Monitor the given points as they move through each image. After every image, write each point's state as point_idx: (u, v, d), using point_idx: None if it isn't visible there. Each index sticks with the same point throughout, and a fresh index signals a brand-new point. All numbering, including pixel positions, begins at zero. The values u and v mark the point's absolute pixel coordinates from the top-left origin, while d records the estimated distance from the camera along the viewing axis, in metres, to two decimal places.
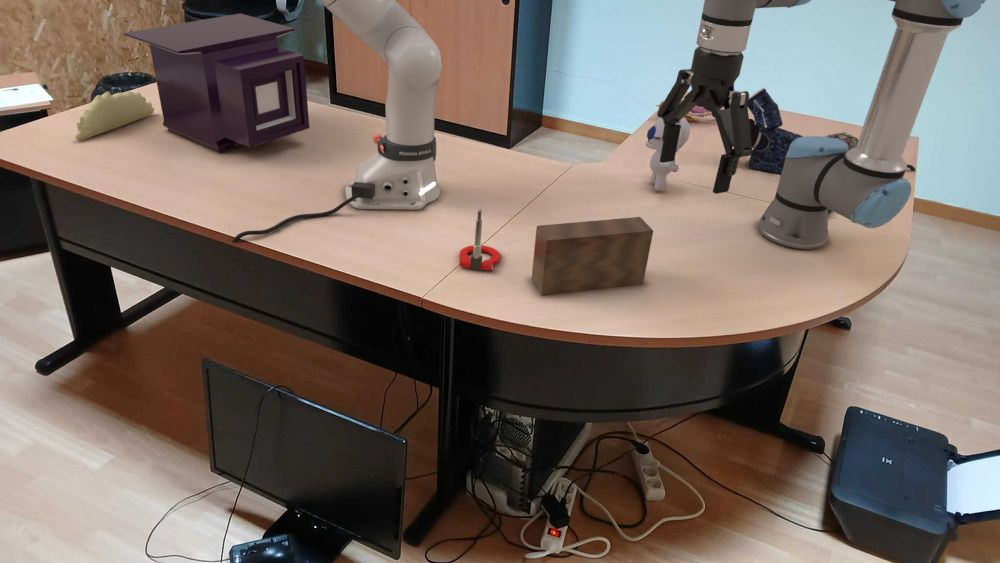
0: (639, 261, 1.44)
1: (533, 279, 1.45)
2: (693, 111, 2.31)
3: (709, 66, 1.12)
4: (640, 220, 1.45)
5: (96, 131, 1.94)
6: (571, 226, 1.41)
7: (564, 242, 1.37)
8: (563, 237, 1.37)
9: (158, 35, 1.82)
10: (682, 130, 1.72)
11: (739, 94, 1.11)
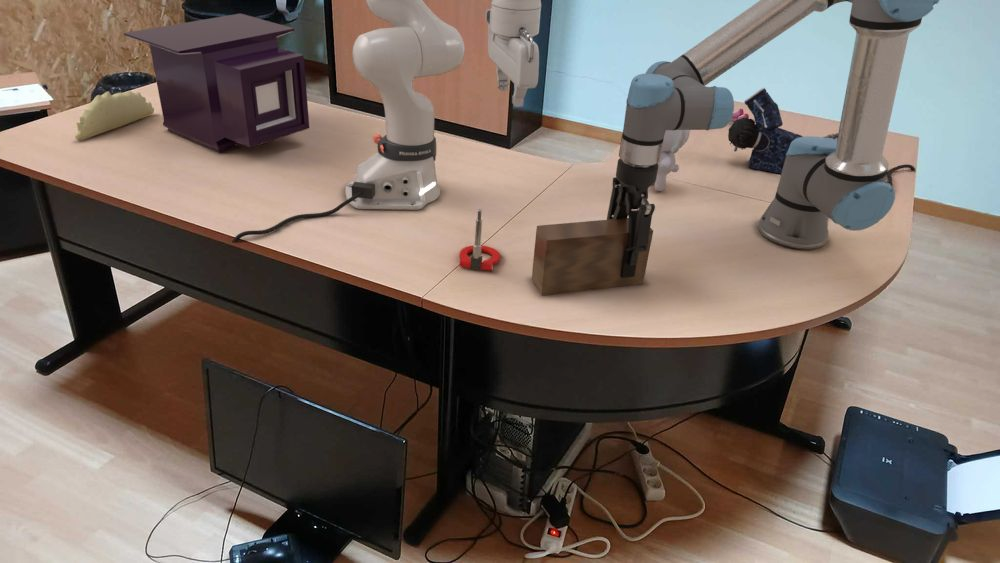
0: (639, 261, 1.44)
1: (533, 279, 1.45)
2: None
3: None
4: None
5: (96, 131, 1.94)
6: (571, 226, 1.41)
7: (564, 242, 1.37)
8: (563, 237, 1.37)
9: (158, 35, 1.82)
10: (682, 130, 1.72)
11: None
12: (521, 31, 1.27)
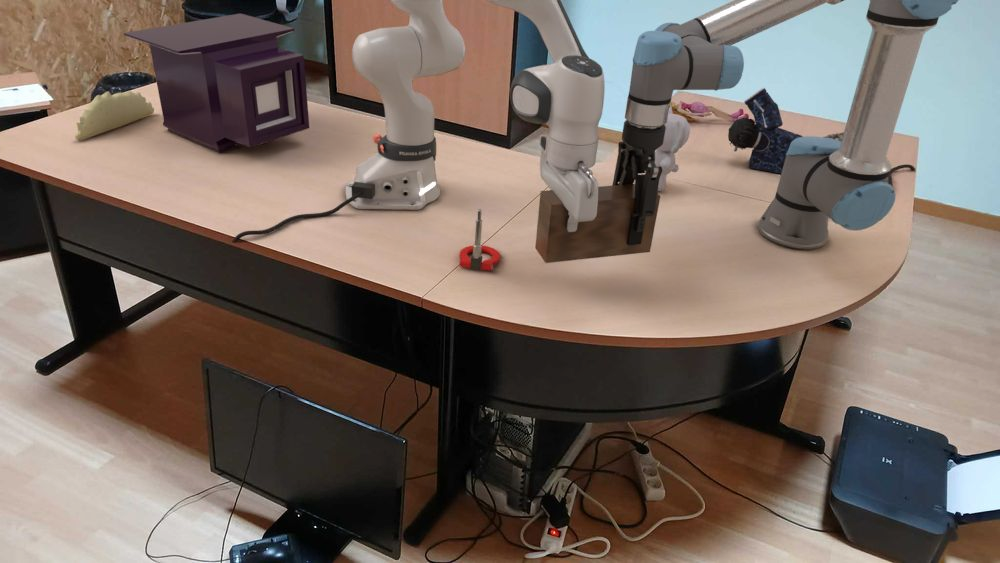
0: (645, 228, 1.41)
1: (537, 247, 1.42)
2: (693, 111, 2.31)
3: None
4: None
5: (96, 131, 1.94)
6: None
7: None
8: None
9: (158, 35, 1.82)
10: (682, 130, 1.72)
11: None
12: (580, 165, 1.26)
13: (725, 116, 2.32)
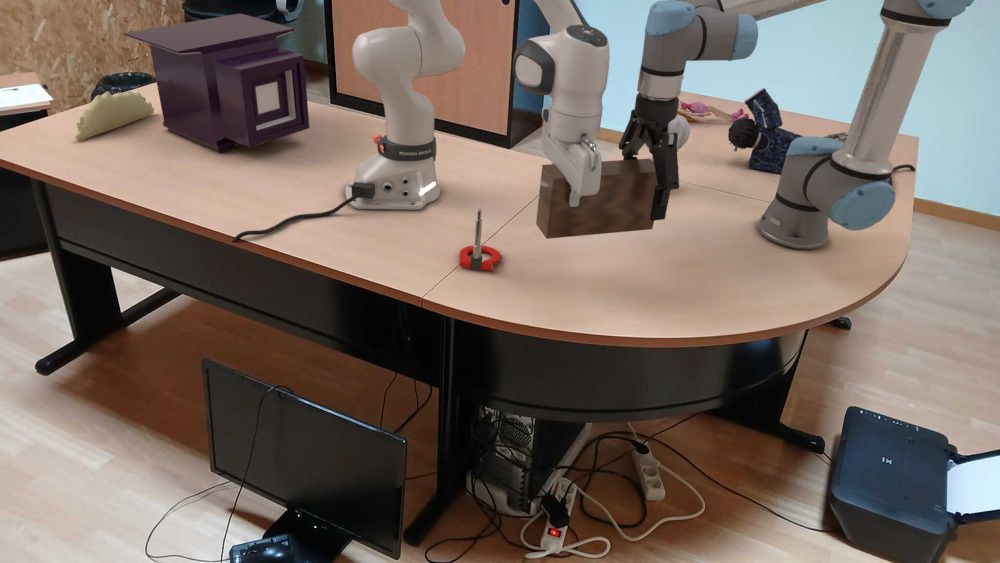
0: (648, 204, 1.38)
1: (538, 223, 1.39)
2: (693, 111, 2.31)
3: None
4: (650, 161, 1.38)
5: (96, 131, 1.94)
6: None
7: None
8: None
9: (158, 35, 1.82)
10: (682, 130, 1.72)
11: None
12: (583, 138, 1.24)
13: (725, 116, 2.32)
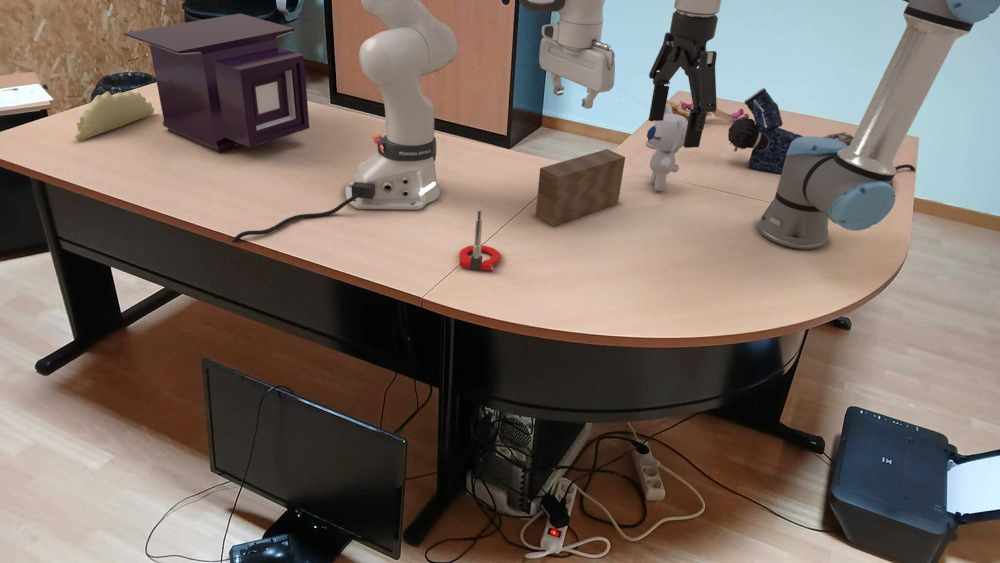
0: (615, 185, 1.75)
1: (538, 215, 1.69)
2: None
3: None
4: (610, 151, 1.75)
5: (96, 131, 1.94)
6: (565, 164, 1.67)
7: (569, 177, 1.63)
8: (567, 173, 1.63)
9: (158, 35, 1.82)
10: (682, 130, 1.72)
11: None
12: (595, 43, 1.45)
13: (725, 116, 2.32)
